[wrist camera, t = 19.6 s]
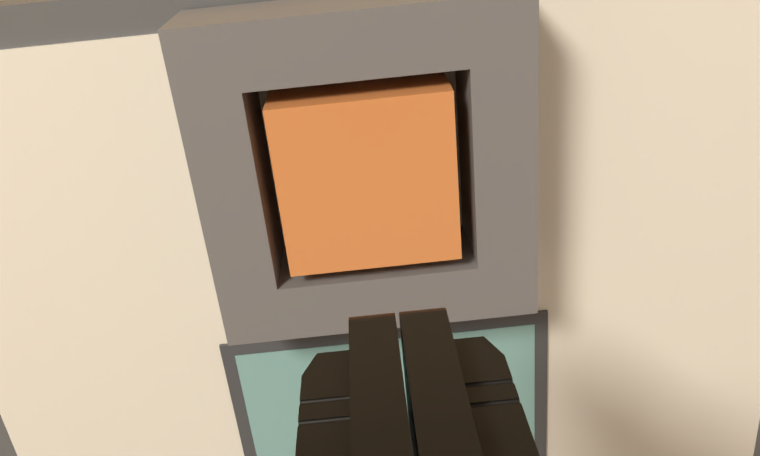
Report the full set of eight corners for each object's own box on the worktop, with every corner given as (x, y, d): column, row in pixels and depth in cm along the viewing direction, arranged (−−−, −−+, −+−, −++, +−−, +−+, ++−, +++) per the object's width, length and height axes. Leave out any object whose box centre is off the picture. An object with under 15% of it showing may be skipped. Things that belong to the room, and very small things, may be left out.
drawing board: (743, 529, 28) (799, 619, 25) (73, 600, 28) (36, 701, 25) (855, -89, 18) (973, -80, 15) (-169, 17, 18) (-286, 50, 15)
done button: (448, 217, 20) (461, 258, 18) (295, 232, 20) (290, 276, 18) (440, 64, 18) (454, 91, 16) (271, 82, 18) (262, 110, 16)
